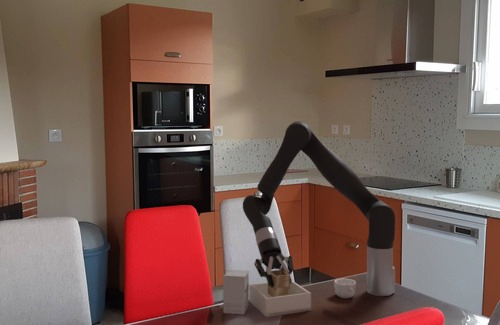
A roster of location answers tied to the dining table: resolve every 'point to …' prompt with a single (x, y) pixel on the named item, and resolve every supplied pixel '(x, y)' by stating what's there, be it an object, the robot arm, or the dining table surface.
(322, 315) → the dining table surface
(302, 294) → the big plastic crate
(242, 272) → the supplement box
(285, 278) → the small wooden crate
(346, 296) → the teacup
